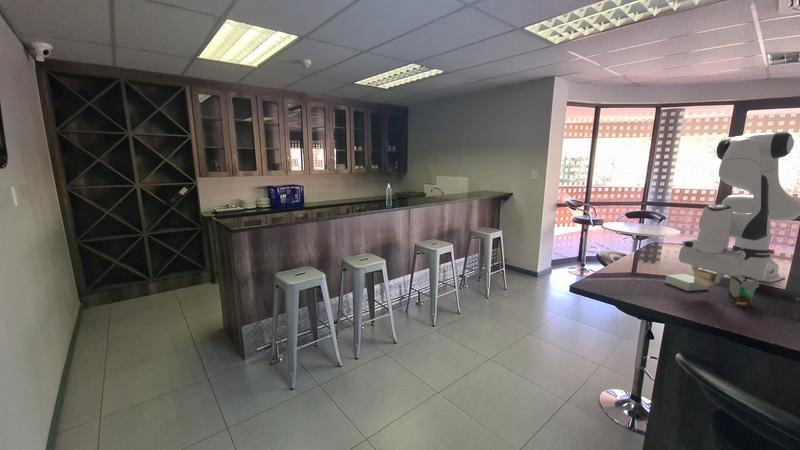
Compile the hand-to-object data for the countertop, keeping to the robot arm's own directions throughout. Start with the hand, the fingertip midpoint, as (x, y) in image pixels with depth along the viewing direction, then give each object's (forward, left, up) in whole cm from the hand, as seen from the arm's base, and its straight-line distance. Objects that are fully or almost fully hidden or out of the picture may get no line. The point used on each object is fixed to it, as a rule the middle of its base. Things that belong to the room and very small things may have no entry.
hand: (706, 279), depth 126 cm
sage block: (-8, -12, -8) cm, 16 cm away
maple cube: (0, 0, -2) cm, 2 cm away
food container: (-10, +7, -8) cm, 14 cm away
